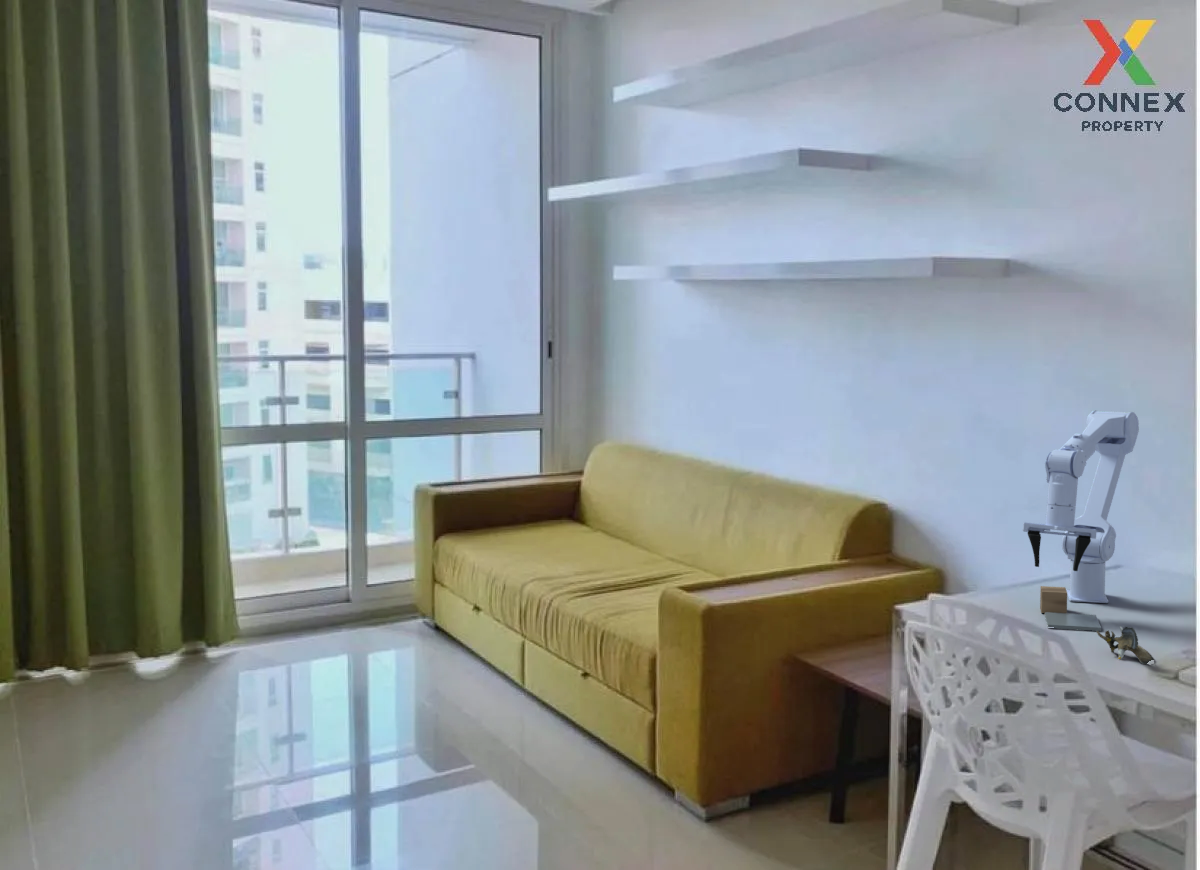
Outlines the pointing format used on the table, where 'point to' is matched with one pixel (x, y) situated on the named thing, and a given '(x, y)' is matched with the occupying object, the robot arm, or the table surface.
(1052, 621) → the slate coaster
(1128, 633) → the eagle figurine
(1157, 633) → the table surface
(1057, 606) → the walnut cube
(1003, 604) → the table surface
